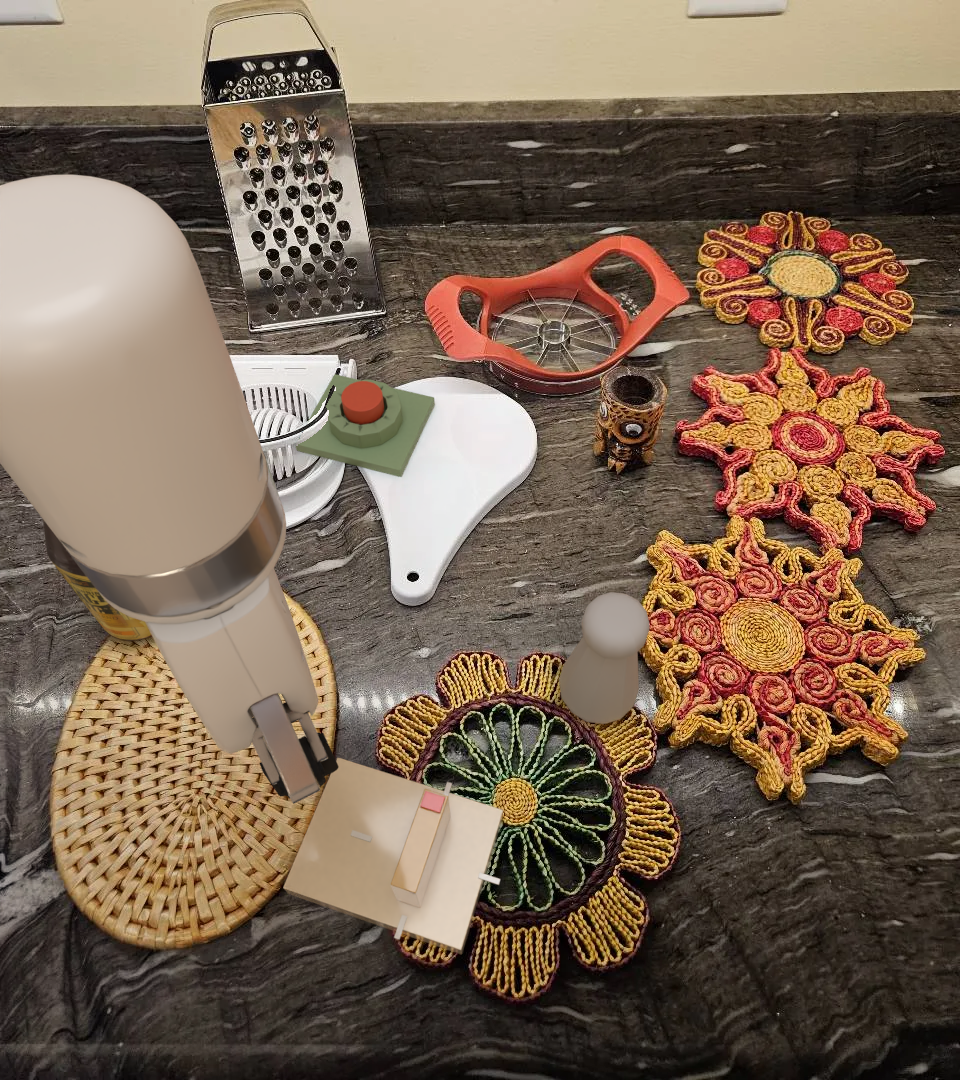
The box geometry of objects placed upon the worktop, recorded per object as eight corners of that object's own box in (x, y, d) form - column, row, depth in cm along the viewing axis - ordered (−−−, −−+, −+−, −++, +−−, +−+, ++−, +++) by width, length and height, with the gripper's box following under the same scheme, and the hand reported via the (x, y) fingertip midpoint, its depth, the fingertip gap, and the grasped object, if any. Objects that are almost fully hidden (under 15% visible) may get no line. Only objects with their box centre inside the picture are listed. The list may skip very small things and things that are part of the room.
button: (337, 419, 76) (334, 405, 74) (353, 390, 78) (350, 377, 76) (375, 428, 75) (373, 415, 74) (390, 399, 77) (388, 386, 76)
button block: (299, 459, 78) (290, 430, 75) (337, 389, 83) (331, 359, 79) (402, 485, 76) (398, 457, 73) (435, 413, 81) (433, 383, 78)
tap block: (287, 906, 57) (278, 896, 54) (346, 763, 62) (340, 748, 60) (475, 973, 55) (475, 966, 52) (520, 818, 60) (521, 805, 57)
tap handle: (420, 908, 54) (415, 892, 50) (396, 900, 54) (389, 883, 50) (451, 816, 57) (448, 794, 53) (428, 809, 57) (424, 786, 53)
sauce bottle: (91, 615, 69) (-33, 459, 53) (157, 568, 72) (59, 405, 55) (136, 667, 67) (21, 521, 50) (202, 617, 69) (114, 461, 52)
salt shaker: (553, 728, 64) (567, 650, 53) (559, 659, 67) (574, 572, 56) (632, 738, 63) (663, 662, 52) (635, 668, 66) (664, 582, 56)
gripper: (27, 399, 35) (162, 604, 50) (139, 764, 27) (263, 884, 41) (204, 338, 37) (285, 552, 51) (361, 661, 29) (406, 810, 43)
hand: (275, 699), depth 46 cm, fingers open, 9 cm apart
